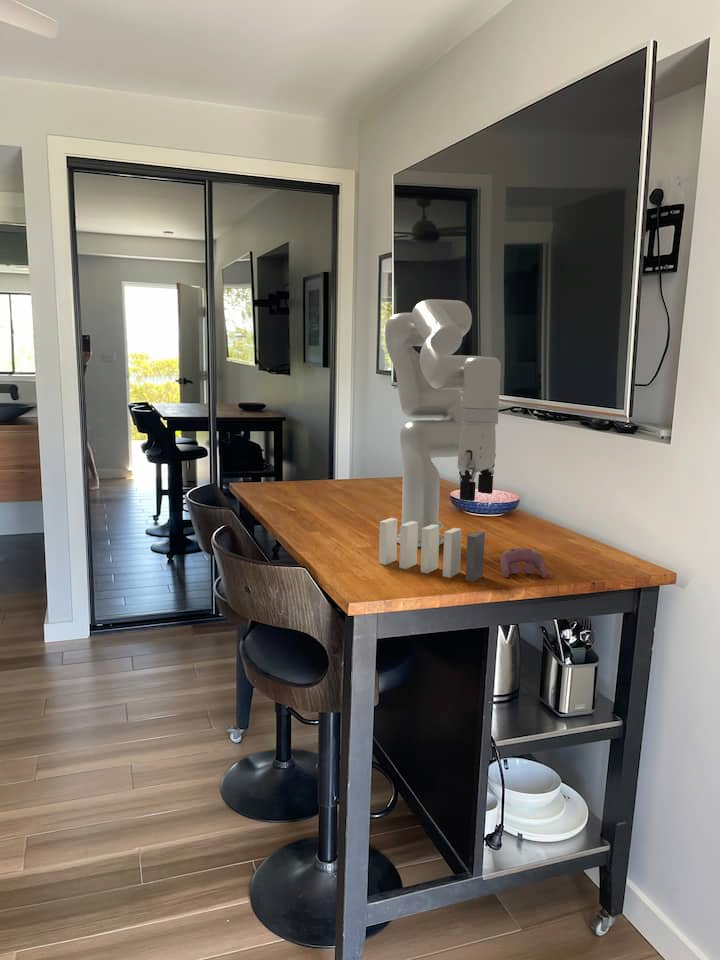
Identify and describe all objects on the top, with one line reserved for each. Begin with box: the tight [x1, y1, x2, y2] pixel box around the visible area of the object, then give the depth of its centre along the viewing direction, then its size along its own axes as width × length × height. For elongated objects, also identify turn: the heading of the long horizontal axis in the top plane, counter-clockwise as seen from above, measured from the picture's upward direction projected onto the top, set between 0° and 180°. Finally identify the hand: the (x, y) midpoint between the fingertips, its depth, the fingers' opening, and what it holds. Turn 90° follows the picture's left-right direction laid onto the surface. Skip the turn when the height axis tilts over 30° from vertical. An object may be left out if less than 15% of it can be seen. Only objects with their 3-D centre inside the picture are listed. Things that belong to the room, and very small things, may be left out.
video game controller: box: [499, 547, 547, 579], centre depth 160 cm, size 10×5×7 cm, turn 92°
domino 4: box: [442, 527, 463, 578], centre depth 159 cm, size 2×5×10 cm, turn 147°
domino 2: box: [399, 521, 418, 570], centre depth 164 cm, size 2×5×10 cm, turn 147°
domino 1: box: [378, 517, 398, 566], centre depth 167 cm, size 2×5×10 cm, turn 147°
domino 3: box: [420, 524, 440, 574], centre depth 162 cm, size 2×5×10 cm, turn 147°
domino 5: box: [465, 530, 486, 583], centre depth 156 cm, size 2×5×10 cm, turn 146°
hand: (476, 496), depth 154 cm, fingers open, 9 cm apart
